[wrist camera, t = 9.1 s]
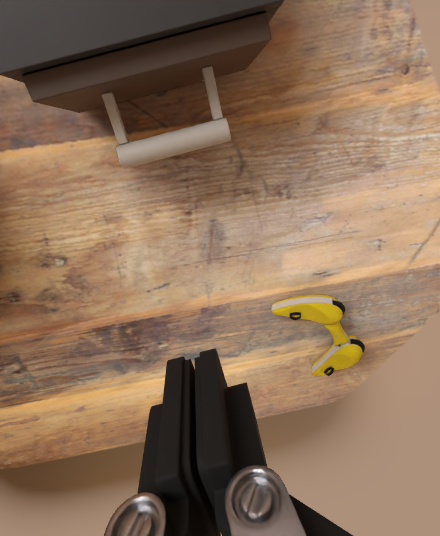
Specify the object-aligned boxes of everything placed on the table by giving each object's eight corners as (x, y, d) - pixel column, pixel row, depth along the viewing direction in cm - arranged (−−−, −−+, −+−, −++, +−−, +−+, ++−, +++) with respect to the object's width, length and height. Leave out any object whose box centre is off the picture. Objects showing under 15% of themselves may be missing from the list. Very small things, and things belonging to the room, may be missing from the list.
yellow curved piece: (368, 344, 33) (374, 371, 30) (311, 356, 36) (312, 382, 33) (333, 274, 29) (336, 297, 26) (272, 294, 32) (269, 317, 29)
